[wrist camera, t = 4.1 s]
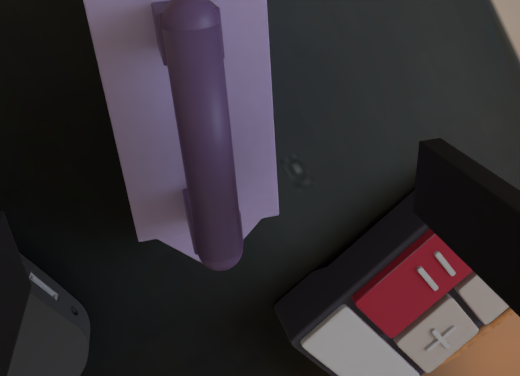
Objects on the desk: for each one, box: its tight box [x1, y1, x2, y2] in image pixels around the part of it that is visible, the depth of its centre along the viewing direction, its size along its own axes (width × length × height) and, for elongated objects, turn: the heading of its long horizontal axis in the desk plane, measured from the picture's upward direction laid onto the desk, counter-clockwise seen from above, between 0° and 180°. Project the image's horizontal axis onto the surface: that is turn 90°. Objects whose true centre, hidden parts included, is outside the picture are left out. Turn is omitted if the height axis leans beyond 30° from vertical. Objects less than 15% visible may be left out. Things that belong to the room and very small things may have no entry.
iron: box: [83, 0, 279, 271], centre depth 21 cm, size 14×6×10 cm, turn 4°
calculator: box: [274, 190, 509, 376], centre depth 33 cm, size 11×4×15 cm
